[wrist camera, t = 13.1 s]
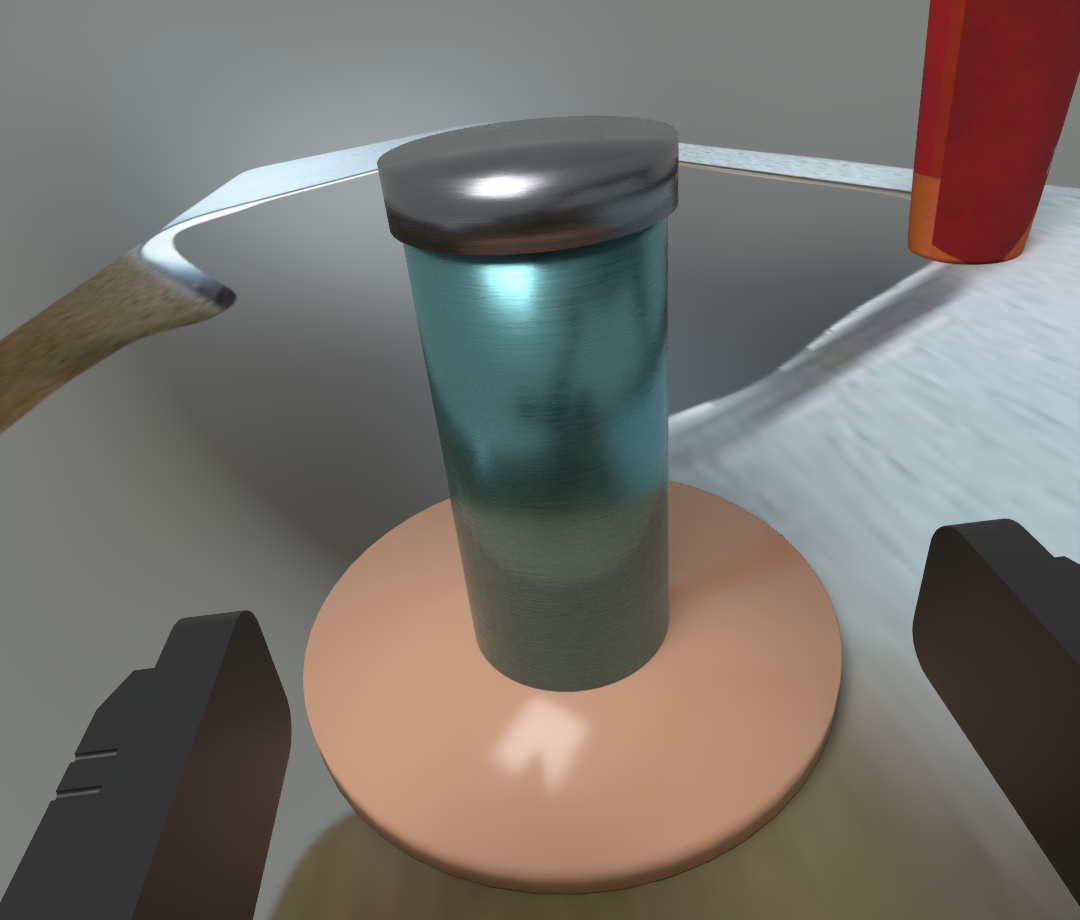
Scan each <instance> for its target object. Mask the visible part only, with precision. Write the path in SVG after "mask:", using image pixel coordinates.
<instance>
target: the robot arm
mask: <svg viewBox="0 0 1080 920" xmlns="http://www.w3.org/2000/svg"><path fill="white" fill-rule="evenodd" d="M912 631H913V641H914V647H915V651H916V654H917V658H918V660H919V663H920V665H921V667H922V669H923V671H924V673H925V675H926V677H927V678H928V680H929V681H930V683H931V684H932V686H933V687H934V689H935V690H936V692H937V693H938V695H939V696H940V698H941V699H942V701H943V702H944V704H945V705H946V707H947V708H948V710H949V711H950V713H951V714H952V716H953V717H954V719H955V720H956V722H957V723H958V725H959V726H960V728H961V729H962V731H963V732H964V734H965V735H966V737H967V738H968V740H969V741H970V743H971V744H972V745H973V747H974V748H975V750H976V751H977V753H978V754H979V756H980V757H981V759H982V760H983V762H984V763H985V765H986V766H987V768H988V769H989V771H990V772H991V774H992V775H993V777H994V778H995V780H996V781H997V783H998V784H999V786H1000V787H1001V789H1002V790H1003V792H1004V793H1005V795H1006V796H1007V798H1008V799H1009V801H1010V802H1011V804H1012V805H1013V807H1014V808H1015V810H1016V811H1017V813H1018V814H1019V816H1020V817H1021V819H1022V820H1023V822H1024V823H1025V825H1026V826H1027V828H1028V829H1029V831H1030V832H1031V834H1032V835H1033V837H1034V838H1035V840H1036V841H1037V843H1038V844H1039V846H1040V847H1041V849H1042V850H1043V852H1044V853H1045V855H1046V856H1047V858H1048V859H1049V861H1050V862H1051V864H1052V865H1053V867H1054V868H1055V870H1056V871H1057V873H1058V874H1059V876H1060V877H1061V879H1062V880H1063V882H1064V883H1065V885H1066V886H1067V888H1068V889H1069V891H1070V892H1071V894H1072V895H1073V897H1074V898H1075V900H1076V901H1077V903H1078V904H1079V906H1080V564H1078V563H1076V562H1074V561H1072V560H1070V559H1069V558H1067V557H1065V556H1062V557H1053V556H1052V555H1051V554H1050V553H1049V552H1048V551H1047V550H1046V549H1045V548H1044V547H1043V546H1042V545H1041V544H1040V543H1039V542H1038V541H1037V540H1036V539H1035V538H1034V537H1033V536H1032V535H1031V534H1030V533H1029V532H1028V531H1027V530H1026V529H1025V528H1024V527H1022V526H1021V525H1020V524H1019V523H1017V522H1015V521H1014V520H1011V519H997V520H989V521H981V522H973V523H965V524H957V525H948V526H943V527H940V528H939V529H937V530H936V532H935V533H934V535H933V537H932V539H931V543H930V547H929V552H928V556H927V561H926V565H925V570H924V574H923V579H922V583H921V588H920V592H919V597H918V601H917V606H916V610H915V615H914V619H913V630H912ZM290 747H291V716H290V709H289V704H288V701H287V697H286V695H285V692H284V689H283V687H282V684H281V681H280V679H279V676H278V673H277V671H276V668H275V666H274V663H273V661H272V657H271V655H270V652H269V650H268V647H267V644H266V642H265V639H264V636H263V634H262V631H261V628H260V626H259V623H258V621H257V619H256V617H255V616H254V614H253V613H252V612H250V611H246V610H245V611H237V612H229V613H221V614H213V615H205V616H196V617H188V618H183V619H180V620H179V621H178V622H177V623H176V624H175V625H174V627H173V629H172V630H171V632H170V635H169V637H168V639H167V642H166V644H165V646H164V648H163V650H162V653H161V655H160V657H159V659H158V662H157V664H156V666H155V668H151V669H143V670H135V671H133V672H132V673H131V674H130V675H129V676H128V677H127V678H126V679H125V681H124V682H123V683H122V684H121V685H120V686H119V687H118V688H117V689H116V690H115V691H114V692H113V693H112V694H111V695H110V696H109V697H108V698H107V700H106V701H105V702H104V703H103V704H102V705H101V706H100V707H99V708H98V709H97V710H96V712H95V714H94V716H93V718H92V720H91V722H90V724H89V726H88V728H87V730H86V732H85V734H84V736H83V738H82V740H81V742H80V744H79V746H78V748H77V750H76V752H75V762H72V763H70V764H69V766H68V768H67V770H66V772H65V774H64V776H63V778H62V780H61V782H60V784H59V786H58V788H57V790H56V792H57V798H56V800H54V801H51V802H50V804H49V806H48V808H47V810H46V812H45V814H44V816H43V818H42V820H41V822H40V824H39V826H38V828H37V830H36V832H35V834H34V836H33V838H32V840H31V842H30V844H29V846H28V848H27V850H26V852H25V854H24V856H23V858H22V860H21V862H20V864H19V866H18V868H17V870H16V872H15V874H14V876H13V878H12V880H11V882H10V884H9V886H8V888H7V890H6V892H5V894H4V896H3V898H2V901H1V902H0V920H253V916H254V912H255V907H256V903H257V898H258V894H259V889H260V885H261V880H262V875H263V871H264V867H265V861H266V858H267V853H268V849H269V844H270V840H271V835H272V831H273V826H274V822H275V817H276V813H277V808H278V804H279V799H280V795H281V790H282V786H283V781H284V776H285V772H286V768H287V763H288V759H289V754H290Z"/></svg>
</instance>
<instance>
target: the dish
mask: <svg viewBox="0 0 1080 920" xmlns="http://www.w3.org/2000/svg"><path fill="white" fill-rule="evenodd" d="M668 565H669V620H668V629H667V633H666V637H665V639H664V641H663V643H662V645H661V647H660V648H659V650H658V651H657V653H656V654H655V655H654V656H653V657H652V659H651V660H650V661H649V662H648V663H647V664H645V665H644V666H643V667H642V668H641V669H639V670H638V671H636V672H635V673H633V674H632V675H630V676H628V677H627V678H624V679H622V680H620V681H618V682H616V683H613V684H610V685H607V686H604V687H601V688H596V689H592V690H586V691H577V692H555V691H546V690H541V689H536V688H532V687H529V686H525V685H522V684H520V683H518V682H515V681H513V680H511V679H509V678H508V677H506V676H504V675H503V674H501V673H500V672H499V671H497V670H496V669H495V668H494V667H493V666H491V664H490V663H489V662H488V661H487V660H486V659H485V657H484V656H483V654H482V652H481V651H480V649H479V646H478V644H477V641H476V637H475V631H474V626H473V620H472V615H471V609H470V604H469V599H468V593H467V588H466V582H465V577H464V571H463V566H462V561H461V555H460V550H459V544H458V539H457V533H456V528H455V522H454V517H453V512H452V506H451V501H450V499H447V500H445V501H442V502H440V503H438V504H436V505H433V506H431V507H430V508H428V509H426V510H424V511H422V512H420V513H418V514H416V515H415V516H413V517H411V518H409V519H408V520H406V521H405V522H403V523H402V524H400V525H399V526H397V527H395V528H394V529H392V530H391V531H390V532H388V533H387V534H386V535H384V536H383V537H382V538H381V539H380V540H378V541H377V542H376V543H374V544H373V545H372V546H371V547H370V548H368V549H367V550H366V551H365V552H364V553H363V554H362V555H361V556H360V557H359V558H358V559H357V560H356V561H355V562H354V563H353V564H352V565H351V566H350V567H349V568H348V570H347V571H346V572H345V574H344V575H343V576H342V577H341V579H340V580H339V581H338V582H337V583H336V585H335V586H334V587H333V589H332V591H331V593H330V594H329V596H328V597H327V599H326V601H325V602H324V604H323V606H322V607H321V610H320V612H319V614H318V616H317V619H316V621H315V623H314V626H313V628H312V630H311V634H310V638H309V642H308V646H307V649H306V654H305V661H304V674H303V686H304V696H305V706H306V711H307V714H308V717H309V720H310V724H311V727H312V731H313V734H314V737H315V739H316V742H317V745H318V748H319V750H320V753H321V756H322V758H323V761H324V763H325V765H326V767H327V769H328V771H329V773H330V775H331V777H332V779H333V781H334V782H335V784H336V786H337V788H338V790H339V791H340V792H341V794H342V795H343V796H344V798H345V799H346V800H347V801H348V803H349V804H350V805H351V807H352V808H353V809H354V811H355V812H356V813H357V814H358V815H359V816H360V817H361V818H362V819H363V820H364V821H365V822H366V823H367V824H369V825H370V826H371V827H372V828H373V829H374V830H375V831H376V832H377V833H378V834H379V835H381V836H382V837H383V838H384V839H386V840H387V841H389V842H390V843H392V844H393V845H395V846H396V847H398V848H399V849H401V850H402V851H404V852H405V853H407V854H409V855H410V856H412V857H413V858H415V859H417V860H419V861H421V862H424V863H426V864H428V865H430V866H432V867H434V868H437V869H439V870H441V871H443V872H445V873H448V874H450V875H453V876H456V877H460V878H463V879H466V880H470V881H473V882H477V883H480V884H483V885H487V886H490V887H496V888H503V889H510V890H516V891H523V892H530V893H554V894H583V893H592V892H600V891H609V890H617V889H625V888H629V887H633V886H637V885H641V884H645V883H649V882H653V881H657V880H661V879H665V878H669V877H671V876H674V875H676V874H679V873H681V872H684V871H686V870H689V869H691V868H694V867H696V866H698V865H701V864H703V863H706V862H708V861H710V860H712V859H714V858H715V857H717V856H719V855H721V854H722V853H724V852H726V851H728V850H729V849H731V848H733V847H735V846H736V845H738V844H740V843H741V842H743V841H745V840H746V839H747V838H749V837H750V836H751V835H752V834H754V833H755V832H756V831H757V830H759V829H760V828H761V827H762V826H764V825H765V824H766V823H767V822H769V821H770V820H771V819H773V818H774V817H775V816H776V815H777V814H778V813H779V812H780V811H781V810H782V808H783V807H784V806H785V805H786V804H787V803H788V802H789V801H790V800H791V799H792V798H793V796H794V795H795V794H796V793H797V792H798V791H799V790H800V789H801V787H802V785H803V784H804V782H805V781H806V779H807V778H808V776H809V775H810V773H811V771H812V770H813V768H814V767H815V765H816V764H817V762H818V760H819V758H820V756H821V753H822V751H823V748H824V746H825V744H826V741H827V739H828V737H829V734H830V732H831V727H832V722H833V718H834V713H835V708H836V704H837V698H838V692H839V686H840V680H841V670H842V644H841V638H840V632H839V626H838V620H837V617H836V615H835V612H834V609H833V606H832V604H831V601H830V598H829V596H828V594H827V592H826V590H825V588H824V587H823V585H822V583H821V581H820V580H819V578H818V576H817V574H816V573H815V571H814V570H813V569H812V568H811V566H810V565H809V564H808V562H807V561H806V560H805V559H804V557H803V556H802V555H801V554H800V553H799V552H798V551H797V550H796V549H795V548H794V547H793V546H792V545H791V544H790V543H789V542H788V541H787V540H786V539H785V538H784V537H783V536H782V535H781V534H779V533H778V532H777V531H775V530H774V529H773V528H772V527H770V526H769V525H768V524H766V523H765V522H764V521H762V520H761V519H759V518H758V517H756V516H754V515H753V514H751V513H749V512H748V511H746V510H744V509H743V508H741V507H739V506H737V505H735V504H733V503H731V502H729V501H727V500H724V499H722V498H720V497H718V496H716V495H713V494H711V493H708V492H705V491H702V490H700V489H697V488H694V487H691V486H688V485H684V484H680V483H677V482H673V481H669V480H668Z"/></svg>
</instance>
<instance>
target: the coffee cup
mask: <svg viewBox="0 0 1080 920" xmlns="http://www.w3.org/2000/svg"><path fill="white" fill-rule="evenodd" d="M1079 72H1080V0H930V9H929V19H928V29H927V39H926V49H925V60H924V69H923V79H922V90H921V99H920V109H919V119H918V130H917V140H916V150H915V161H914V171H913V182H912V193H911V204H910V216H909V229H908V248H909V249H910V251H912V252H913V253H915V254H917V255H919V256H921V257H924V258H927V259H931V260H935V261H940V262H947V263H956V264H989V263H997V262H1003V261H1007V260H1010V259H1013V258H1015V257H1017V256H1019V255H1020V254H1021V252H1022V250H1023V248H1024V246H1025V243H1026V240H1027V237H1028V235H1029V232H1030V229H1031V226H1032V223H1033V220H1034V217H1035V214H1036V210H1037V207H1038V204H1039V201H1040V198H1041V195H1042V191H1043V188H1044V185H1045V182H1046V179H1047V176H1048V173H1049V169H1050V166H1051V163H1052V159H1053V156H1054V153H1055V150H1056V147H1057V144H1058V140H1059V137H1060V134H1061V131H1062V127H1063V124H1064V121H1065V118H1066V114H1067V111H1068V108H1069V104H1070V102H1071V98H1072V95H1073V92H1074V89H1075V85H1076V82H1077V79H1078V76H1079Z"/></svg>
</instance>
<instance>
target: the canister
mask: <svg viewBox="0 0 1080 920" xmlns="http://www.w3.org/2000/svg"><path fill="white" fill-rule="evenodd" d="M377 165H378V170H379V176H380V181H381V186H382V190H383V197H384V202H385V207H386V212H387V217H388V223H389V228H390V232H391V234H392V235H393V237H395V238H396V239H397V240H399V241H400V242H403V245H404V250H405V256H406V262H407V267H408V272H409V278H410V282H411V289H412V294H413V300H414V305H415V310H416V316H417V321H418V326H419V332H420V338H421V342H422V348H423V354H424V359H425V365H426V370H427V376H428V381H429V386H430V392H431V397H432V403H433V407H434V414H435V419H436V425H437V430H438V435H439V441H440V446H441V452H442V457H443V463H444V468H445V474H446V479H447V484H448V490H449V495H450V501H451V506H452V512H453V517H454V522H455V528H456V533H457V539H458V544H459V550H460V555H461V561H462V566H463V571H464V577H465V582H466V588H467V593H468V599H469V604H470V609H471V615H472V620H473V626H474V631H475V637H476V641H477V644H478V646H479V649H480V651H481V652H482V654H483V656H484V657H485V659H486V660H487V661H488V662H489V663H490V664H491V666H493V667H494V668H495V669H496V670H497V671H499V672H500V673H501V674H503V675H504V676H506V677H508V678H509V679H511V680H513V681H515V682H518V683H520V684H522V685H525V686H529V687H532V688H536V689H541V690H546V691H555V692H577V691H586V690H592V689H596V688H601V687H604V686H607V685H610V684H613V683H616V682H618V681H620V680H622V679H624V678H627V677H628V676H630V675H632V674H633V673H635V672H636V671H638V670H639V669H641V668H642V667H643V666H644V665H645V664H647V663H648V662H649V661H650V660H651V659H652V657H653V656H654V655H655V654H656V653H657V651H658V650H659V648H660V647H661V645H662V643H663V641H664V639H665V637H666V633H667V629H668V620H669V565H668V222H667V221H668V216H669V215H670V214H671V213H672V212H673V211H674V210H675V208H676V207H677V204H678V131H677V129H675V128H674V127H673V126H671V125H668V124H666V123H663V122H658V121H654V120H648V119H642V118H633V117H617V116H571V117H553V118H540V119H528V120H518V121H510V122H502V123H494V124H488V125H481V126H475V127H469V128H464V129H459V130H454V131H449V132H444V133H440V134H436V135H432V136H428V137H425V138H421V139H418V140H415V141H411V142H408V143H406V144H403V145H400V146H398V147H396V148H394V149H392V150H390V151H388V152H386V153H385V154H383V155H382V156H381V157H380V158H379V160H378V161H377Z"/></svg>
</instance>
